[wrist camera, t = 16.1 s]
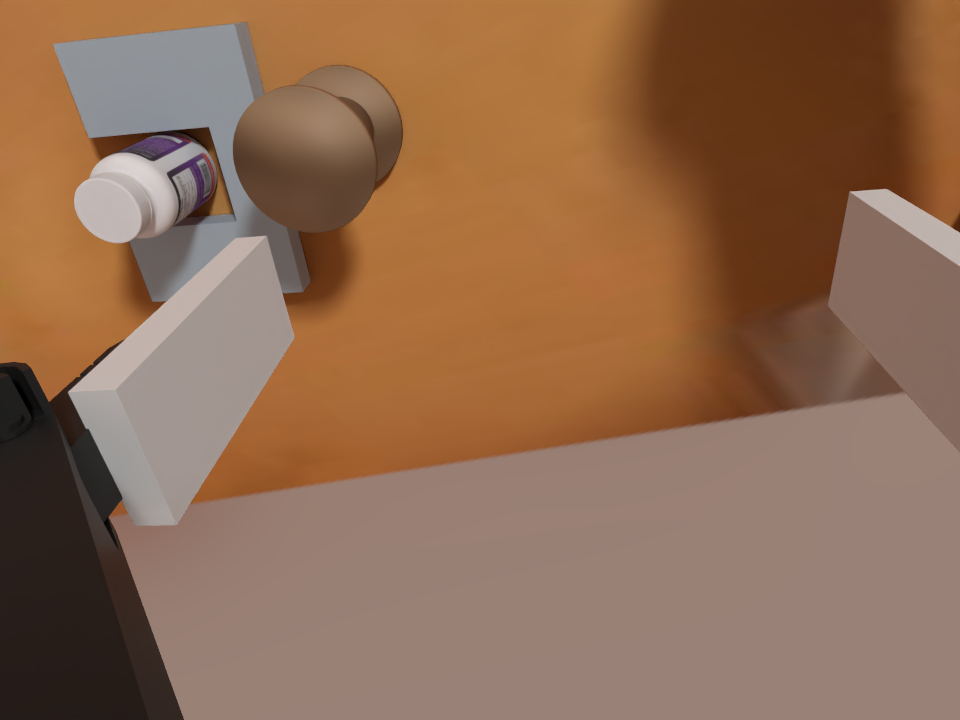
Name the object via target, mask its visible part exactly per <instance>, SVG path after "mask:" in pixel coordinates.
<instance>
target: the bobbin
mask: <svg viewBox="0 0 960 720" xmlns="http://www.w3.org/2000/svg"><path fill="white" fill-rule="evenodd" d="M402 139H403V128H402V121H401V116H400V113H399V110H398V107H397V105H396V103H395V101H394V99H393V98H392V96H391V95H390V93H389V92H388V91H387V89H386V88H385V87H384V86H383V85H382V84H381V83H380V82H379V81H378V80H377V79H375V78H374V77H373V76H371V75H370V74H368V73H366V72H364V71H362V70H360V69H357V68H354V67H350V66H343V65H332V66H326V67H323V68H320V69H317V70H315V71H313V72H311V73H309V74H307V75H306V76H304V77H303V78H302V79H301V80H300V81H299V82H298V83H297V84H296V85H291V86H285V87H280V88H277V89H275V90H272V91H270V92H268V93H266V94H264V95H262V96H260V97H259V98H257V99H256V100H255V101H253V102H252V103H251V104H250V105H249V106H248V107H247V109H246V110H245V111H244V113H243V114H242V116H241V118H240V120H239V122H238V124H237V127H236V130H235V133H234V139H233V160H234V165H235V170H236V173H237V176H238V178H239V181H240V183H241V185H242V187H243V189H244V190H245V192H246V194H247V195H248V197H249V198H250V199H251V200H252V202H253V203H254V204H255V205H256V206H257V207H258V208H259V209H260V210H261V211H262V212H263V213H264V214H265V215H267V216H268V217H269V218H271V219H272V220H274V221H275V222H277V223H279V224H281V225H283V226H285V227H288V228H291V229H293V230H297V231H301V232H309V233H321V232H328V231H332V230H335V229H338V228H340V227H342V226H344V225H346V224H348V223H349V222H351V221H352V220H353V219H354V218H356V217H357V216H358V215H359V214H360V212H361V211H362V210H363V209H364V207H365V206H366V204H367V203H368V201H369V200H370V198H371V196H372V194H373V191H374V188H375V185H376V182H378V181H379V180H381V179H382V178H383V177H384V176H385V175H386V174H387V173H388V172H389V171H390V169H391V168H392V166H393V165H394V163H395V162H396V160H397V158H398V155H399V153H400V149H401V145H402Z"/></svg>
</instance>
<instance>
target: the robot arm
mask: <svg viewBox="0 0 960 720" xmlns="http://www.w3.org/2000/svg"><path fill="white" fill-rule="evenodd" d="M828 307H829V308H830V310H831V311H832V312H833V313H834V314H835V315H836V316H837V317H838V318H839V319H840V321H841V322H842V323H843V324H844V325H845V326H846V327H847V328H848V329H849V331H850V332H851V333H852V334H853V335H854V336H855V337H856V338H857V339H858V340H859V342H860V343H861V344H862V345H863V346H864V347H865V348H866V349H867V350H868V352H869V353H870V354H871V355H872V356H873V357H874V358H875V359H876V360H877V361H878V363H879V364H880V365H881V366H882V367H883V368H884V369H885V370H886V371H887V373H888V374H889V375H890V376H891V377H892V378H893V379H894V380H895V381H896V382H897V384H898V385H899V386H900V387H901V388H902V389H903V390H904V391H905V392H906V393H907V395H908V396H909V397H910V398H911V399H912V400H913V401H914V402H915V403H916V405H917V406H918V407H919V408H920V409H921V410H922V411H923V412H924V413H925V414H926V416H927V417H928V418H929V419H930V420H931V421H932V422H933V423H934V424H935V426H936V427H937V428H938V429H939V430H940V431H941V432H942V433H943V434H944V435H945V437H947V439H948V440H949V441H950V442H951V443H952V444H953V445H954V447H955V448H956V449H957V450H958V451H959V452H960V232H958V231H956V230H955V229H953V228H951V227H950V226H948V225H946V224H945V223H943V222H941V221H940V220H938V219H936V218H935V217H933V216H931V215H930V214H928V213H926V212H925V211H923V210H921V209H920V208H918V207H916V206H915V205H913V204H911V203H910V202H908V201H906V200H905V199H903V198H901V197H900V196H898V195H896V194H895V193H893V192H891V191H890V190H888V189H879V190H865V191H852V192H849V197H848V202H847V207H846V212H845V218H844V223H843V228H842V233H841V239H840V244H839V249H838V255H837V260H836V265H835V270H834V276H833V281H832V286H831V291H830V297H829V302H828ZM294 338H295V337H294V334H293V330H292V326H291V323H290V319H289V316H288V312H287V308H286V305H285V301H284V297H283V294H282V290H281V286H280V283H279V279H278V275H277V272H276V268H275V264H274V261H273V257H272V253H271V250H270V246H269V243H268V239H267V236H256V237H243V238H235V239H234V240H233V241H232V242H231V243H230V244H229V245H228V246H226V247H225V248H224V249H223V250H222V251H221V252H220V253H219V254H218V255H217V256H216V257H214V258H213V259H212V260H211V261H210V262H209V263H208V264H207V265H206V266H205V267H204V268H203V269H201V270H200V271H199V272H198V273H197V274H196V275H195V276H194V277H193V278H192V279H191V280H189V281H188V282H187V283H186V284H185V285H184V286H183V287H182V288H181V289H180V290H179V291H177V292H176V293H175V294H174V295H173V296H172V297H171V298H170V299H169V300H168V301H167V302H165V303H164V304H163V305H162V306H161V307H160V308H159V309H158V310H157V311H156V312H155V313H154V314H152V315H151V316H150V317H149V318H148V319H147V320H146V321H145V322H144V323H143V324H142V325H140V326H139V327H138V328H137V329H136V330H135V331H134V332H133V333H132V334H131V335H130V336H128V337H127V338H126V339H124V340H122V341H121V342H119V343H117V344H115V345H114V346H112V347H110V348H109V349H107V350H106V351H105V352H104V353H103V354H102V355H101V356H100V357H99V358H98V359H96V360H95V361H94V362H93V365H90V366H89V367H88V368H86V369H85V370H84V371H83V372H82V373H81V374H80V377H76V378H75V379H74V380H73V381H72V382H71V383H70V384H69V385H68V386H67V387H65V388H64V389H63V390H62V391H61V392H60V393H59V394H58V395H57V396H55V397H54V398H53V399H52V400H51V401H50V402H48V400H47V398H46V396H45V394H44V392H43V390H42V388H41V386H40V384H39V382H38V381H37V379H36V377H35V375H34V373H33V371H32V369H31V368H30V367H29V366H28V365H27V364H26V363H18V362H10V363H1V364H0V720H184V719H183V716H182V713H181V710H180V707H179V705H178V702H177V699H176V696H175V694H174V691H173V688H172V685H171V683H170V680H169V677H168V674H167V671H166V669H165V666H164V663H163V660H162V658H161V655H160V652H159V649H158V646H157V644H156V641H155V638H154V635H153V633H152V630H151V627H150V624H149V621H148V619H147V616H146V613H145V610H144V607H143V605H142V602H141V599H140V596H139V594H138V591H137V588H136V585H135V583H134V580H133V577H132V574H131V571H130V569H129V566H128V563H127V560H126V557H125V555H124V552H123V549H122V546H121V544H120V541H119V538H118V535H117V533H116V531H115V529H114V527H113V525H112V523H111V521H110V519H109V515H110V514H111V513H112V511H113V510H114V509H115V507H116V506H117V505H118V503H119V502H120V501H121V500H122V502H123V504H124V506H125V508H126V510H127V512H128V514H129V516H130V518H131V520H132V522H133V524H134V526H153V525H177V523H178V522H179V520H180V519H181V517H182V515H183V514H184V512H185V511H186V509H187V508H188V506H189V504H190V503H191V501H192V500H193V498H194V496H195V495H196V493H197V492H198V490H199V489H200V487H201V485H202V484H203V482H204V481H205V479H206V477H207V476H208V474H209V473H210V471H211V470H212V468H213V466H214V465H215V463H216V462H217V460H218V458H219V457H220V455H221V454H222V452H223V451H224V449H225V447H226V446H227V444H228V443H229V441H230V439H231V438H232V436H233V435H234V433H235V431H236V430H237V428H238V427H239V425H240V424H241V422H242V420H243V419H244V417H245V416H246V414H247V412H248V411H249V409H250V408H251V406H252V405H253V403H254V401H255V400H256V398H257V397H258V395H259V393H260V392H261V390H262V389H263V387H264V386H265V384H266V382H267V381H268V379H269V378H270V376H271V374H272V373H273V371H274V370H275V368H276V366H277V365H278V363H279V362H280V360H281V359H282V357H283V355H284V354H285V352H286V351H287V349H288V347H289V346H290V344H291V343H292V341H293V340H294Z"/></svg>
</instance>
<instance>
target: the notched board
mask: <svg viewBox="0 0 960 720" xmlns="http://www.w3.org/2000/svg"><path fill="white" fill-rule="evenodd" d="M53 46H54V49H55V51H56V54H57V56H58V59H59V62H60V64H61V67H62V69H63V72H64V74H65V77H66V80H67V82H68V85H69V87H70V90H71V93H72V95H73V98H74V100H75V103H76V106H77V108H78V111H79V113H80V116H81V118H82V121H83V124H84V126H85V129H86V131H87V134H88V137H89V138H96V137H106V136H117V135H128V134H138V133H149V132H160V131H170V130H181V129H192V128H202V127H209V129H210V132H211V136H212V139H213V142H214V146H215V149H216V153H217V156H218V159H219V163H220V166H221V170H222V173H223V176H224V180H225V183H226V186H227V190H228V193H229V197H230V200H231V203H232V207H233V210H234V214H225V215H213V216H200V217H187V218H183V219H182V220H181V221H179V222H178V223H177V224H175V225H174V226H173V227H171V228H170V229H169V230H167V231H166V232H164V233H163V234H161V235H158V236H156V237H152V238H134V239H132V240H131V241H129V243H130V245H131V248H132V250H133V253H134V255H135V258H136V261H137V263H138V266H139V268H140V271H141V274H142V276H143V279H144V281H145V284H146V286H147V289H148V292H149V294H150V297H151V299H152V302H160V301H168V300H169V299H170V298H171V297H172V296H173V295H174V294H175V293H176V292H177V291H179V290H180V289H181V288H182V287H183V286H184V285H185V284H186V283H187V282H188V281H189V280H191V279H192V278H193V277H194V276H195V275H196V274H197V273H198V272H199V271H200V270H201V269H203V268H204V267H205V266H206V265H207V264H208V263H209V262H210V261H211V260H212V259H213V258H214V257H216V256H217V255H218V254H219V253H220V252H221V251H222V250H223V249H224V248H225V247H226V246H228V245H229V244H230V243H231V242H232V241H233V240H234V239H235V238H243V237H256V236H267V239H268V243H269V246H270V250H271V253H272V257H273V261H274V264H275V268H276V272H277V275H278V279H279V283H280V286H281V290H282V293H296V292H304V290H305V289H306V287H307V286H308V284H309V283H310V282H311V280H310V276H309V272H308V268H307V264H306V260H305V256H304V252H303V248H302V244H301V240H300V236H299V232H298V231H297V230H293V229H291V228H288V227H285V226H283V225H281V224H279V223H277V222H275V221H274V220H272V219H271V218H269V217H268V216H267V215H265V214H264V213H263V212H262V211H261V210H260V209H259V208H258V207H257V206H256V205H255V204H254V203H253V202H252V200H251V199H250V198H249V197H248V195H247V194H246V192H245V190H244V189H243V187H242V185H241V183H240V181H239V178H238V176H237V173H236V170H235V165H234V160H233V139H234V133H235V130H236V127H237V124H238V122H239V120H240V118H241V116H242V114H243V113H244V111H245V110H246V109H247V107H248V106H249V105H250V104H251V103H252V102H253V101H255V100H256V99H257V98H259V97H260V96H262V95H264V91H263V87H262V82H261V78H260V74H259V70H258V66H257V62H256V58H255V54H254V50H253V46H252V42H251V38H250V34H249V30H248V26H247V22H243V23H234V24H225V25H216V26H207V27H198V28H189V29H180V30H171V31H161V32H152V33H143V34H134V35H125V36H116V37H107V38H98V39H89V40H80V41H71V42H64V43H58V44H53Z"/></svg>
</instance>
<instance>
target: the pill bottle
mask: <svg viewBox="0 0 960 720" xmlns="http://www.w3.org/2000/svg"><path fill="white" fill-rule="evenodd" d="M216 184H217V171H216V167H215V164H214V162H213V159H212V158H211V156H210V154H209V153H208V152H207V150H206V149H205V148H204V147H203V146H202V145H201V144H200V143H199V142H197V141H196V140H195V139H193V138H191V137H189V136H187V135H185V134H182V133H178V132H163V133H159V134H156V135H154V136H151V137H149V138H147V139H145V140H142V141H140V142H138V143H136V144H134V145H131V146H129V147H127V148H125V149H122V150H120V151H118V152H116V153H113V154H111V155H109V156H107V157H105V158H104V159H102V160H101V161H100V162H98V163H97V164H96V166H95V167H94V168H93V170H92V172H91V175H90V178H89V179H88V180H86V181H84V182H83V183H82V184H81V185H80V186H79V187H78V188H77V190H76V193H75V196H74V205H75V210H76V213H77V215H78V217H79V219H80V221H81V222H82V224H83V225H84V226H85V227H86V228H87V229H88V230H89V231H90V232H91V233H92V234H94V235H95V236H96V237H98V238H100V239H102V240H105V241H107V242H111V243H125V242H128V241H131V240H132V239H134V238H152V237H156V236H158V235H161V234H163V233H164V232H166V231H167V230H169V229H170V228H171V227H173V226H174V225H175V224H177V223H178V222H179V221H181V220H182V219H183V218H185V217H186V216H188V215H189V214H190V213H192V212H193V211H194V210H196V209H197V208H199V207H200V206H201V205H203V204H204V203H205V202H206V201H207V200H209V198H210V197H211V196H212V195H213V193H214V191H215V188H216Z"/></svg>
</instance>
